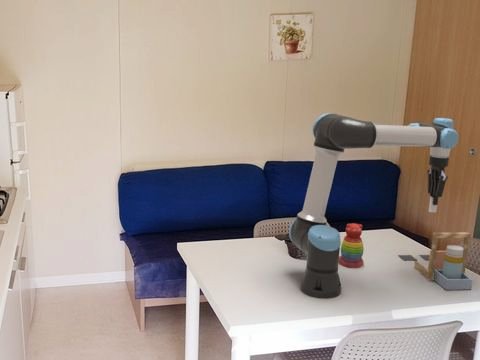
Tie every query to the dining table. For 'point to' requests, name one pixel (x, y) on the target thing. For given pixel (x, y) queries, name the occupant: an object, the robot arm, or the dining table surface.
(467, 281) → the tray
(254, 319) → the dining table surface
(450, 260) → the bottle
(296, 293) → the dining table surface
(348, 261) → the stacking bear
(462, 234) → the wooden frame rack
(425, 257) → the pit pads
